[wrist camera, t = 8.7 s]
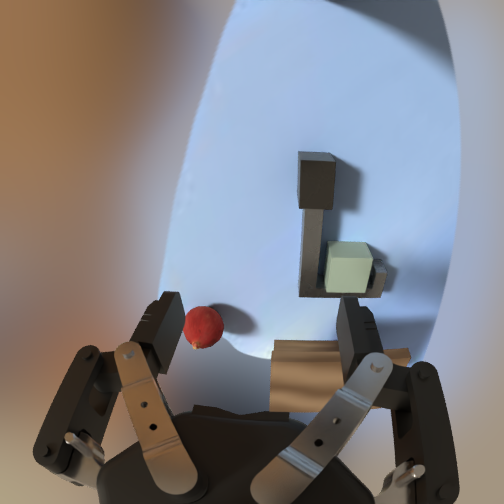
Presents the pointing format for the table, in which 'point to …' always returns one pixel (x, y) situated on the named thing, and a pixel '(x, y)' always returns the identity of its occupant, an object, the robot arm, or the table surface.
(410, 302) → the table surface
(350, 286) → the block
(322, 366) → the walnut shelf
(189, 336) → the red rounded piece
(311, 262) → the mallet
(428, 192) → the table surface
